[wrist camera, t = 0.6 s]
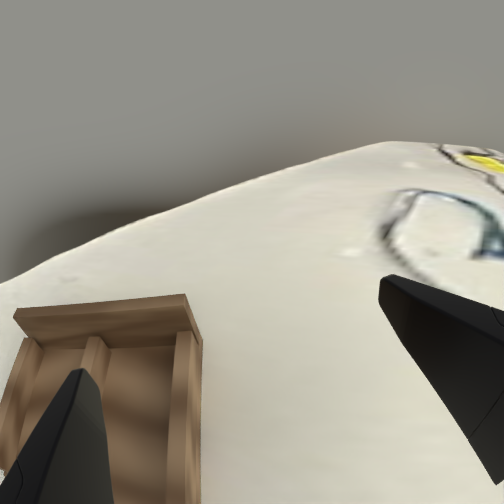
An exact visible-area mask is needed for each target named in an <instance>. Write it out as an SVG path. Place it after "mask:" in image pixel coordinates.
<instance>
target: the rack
mask: <svg viewBox="0 0 504 504" xmlns="http://www.w3.org/2000/svg"><path fill="white" fill-rule="evenodd" d="M13 318H14V320H15V321H16V322H17V324H18V325H19V326H20V327H21V329H22V330H23V331H24V332H25V334H26V335H27V336H28V337H29V338H24V339H23V342H22V344H21V347H20V349H19V352H18V354H17V357H16V360H15V362H14V365H13V368H12V370H11V373H10V376H9V379H8V382H7V385H6V388H5V391H4V394H3V397H2V400H1V403H0V469H1V470H3V471H4V476H5V477H6V475H7V473H8V472H9V470H10V468H11V466H12V465H13V463H14V461H15V459H17V456H18V454H19V453H20V451H21V449H22V447H23V446H24V444H25V442H26V441H27V439H28V437H29V436H30V434H31V432H32V431H33V429H34V427H35V426H36V424H37V422H38V421H39V419H40V418H41V416H42V414H43V413H44V411H45V410H46V408H47V407H48V405H49V403H50V402H51V400H52V399H53V397H54V396H55V394H56V393H57V391H58V390H59V388H60V387H61V385H62V384H63V382H64V381H65V379H66V378H67V376H68V375H69V373H70V372H71V371H72V370H74V369H79V368H85V369H86V370H87V371H88V373H89V374H90V375H91V377H92V378H93V380H94V381H95V382H96V384H97V385H98V387H99V390H100V394H101V402H102V409H103V415H104V421H105V427H106V433H107V442H108V454H109V465H110V474H111V483H112V490H113V498H114V504H201V483H200V426H201V377H202V347H203V340H202V337H201V335H200V332H199V329H198V327H197V324H196V322H195V319H194V316H193V314H192V311H191V308H190V306H189V303H188V300H187V298H186V295H185V294H176V295H167V296H158V297H148V298H138V299H127V300H117V301H106V302H95V303H83V304H70V305H58V306H44V307H30V308H17V310H16V312H15V314H14V316H13Z"/></svg>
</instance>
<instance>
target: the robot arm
mask: <svg viewBox="0 0 504 504" xmlns="http://www.w3.org/2000/svg"><path fill="white" fill-rule="evenodd" d="M378 301H379V305H380V307H381V309H382V310H383V312H384V314H385V315H386V317H387V319H388V320H389V322H390V324H391V326H392V327H393V329H394V331H395V332H396V334H397V336H398V338H399V339H400V341H401V343H402V344H403V345H404V347H405V348H406V350H407V351H408V353H409V354H410V355H411V357H412V358H413V359H414V361H415V362H416V364H417V365H418V366H419V368H420V369H421V371H422V372H423V374H424V375H425V376H426V378H427V379H428V381H429V382H430V384H431V385H432V386H433V388H434V389H435V391H436V392H437V394H438V395H439V397H440V398H441V400H442V401H443V403H444V404H445V406H446V407H447V409H448V410H449V412H450V413H451V415H452V416H453V418H454V419H455V421H456V422H457V424H458V425H459V427H460V428H461V430H462V432H463V433H464V435H465V436H466V438H467V439H468V441H469V443H470V444H471V446H472V448H473V449H474V451H475V452H476V454H477V456H478V457H479V459H480V461H481V462H482V464H483V466H484V467H485V469H486V471H487V472H488V474H489V476H490V477H491V479H492V481H493V482H494V484H495V485H497V484H499V483H500V482H501V481H503V480H504V311H502V310H499V309H496V308H494V307H490V306H488V305H485V304H482V303H479V302H476V301H473V300H470V299H467V298H464V297H461V296H458V295H455V294H452V293H449V292H446V291H443V290H440V289H437V288H434V287H431V286H428V285H425V284H422V283H419V282H416V281H413V280H410V279H407V278H404V277H400V276H397V275H394V274H391V275H388V276H386V277H383V278H382V279H381V280H380V287H379V297H378ZM0 504H114V498H113V490H112V483H111V474H110V465H109V454H108V442H107V433H106V427H105V421H104V415H103V409H102V402H101V394H100V390H99V387H98V385H97V384H96V382H95V381H94V380H93V378H92V377H91V375H90V374H89V373H88V371H87V370H86V369H85V368H79V369H74V370H72V371H71V372H70V373H69V375H68V376H67V378H66V379H65V381H64V382H63V384H62V385H61V387H60V388H59V390H58V391H57V393H56V394H55V396H54V397H53V399H52V400H51V402H50V403H49V405H48V407H47V408H46V410H45V411H44V413H43V414H42V416H41V418H40V419H39V421H38V422H37V424H36V426H35V427H34V429H33V431H32V432H31V434H30V436H29V437H28V439H27V441H26V442H25V444H24V446H23V447H22V449H21V451H20V453H19V454H18V456H17V459H15V461H14V463H13V465H12V466H11V468H10V470H9V472H8V473H7V475H6V477H5V478H4V480H3V482H2V483H1V485H0Z"/></svg>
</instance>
